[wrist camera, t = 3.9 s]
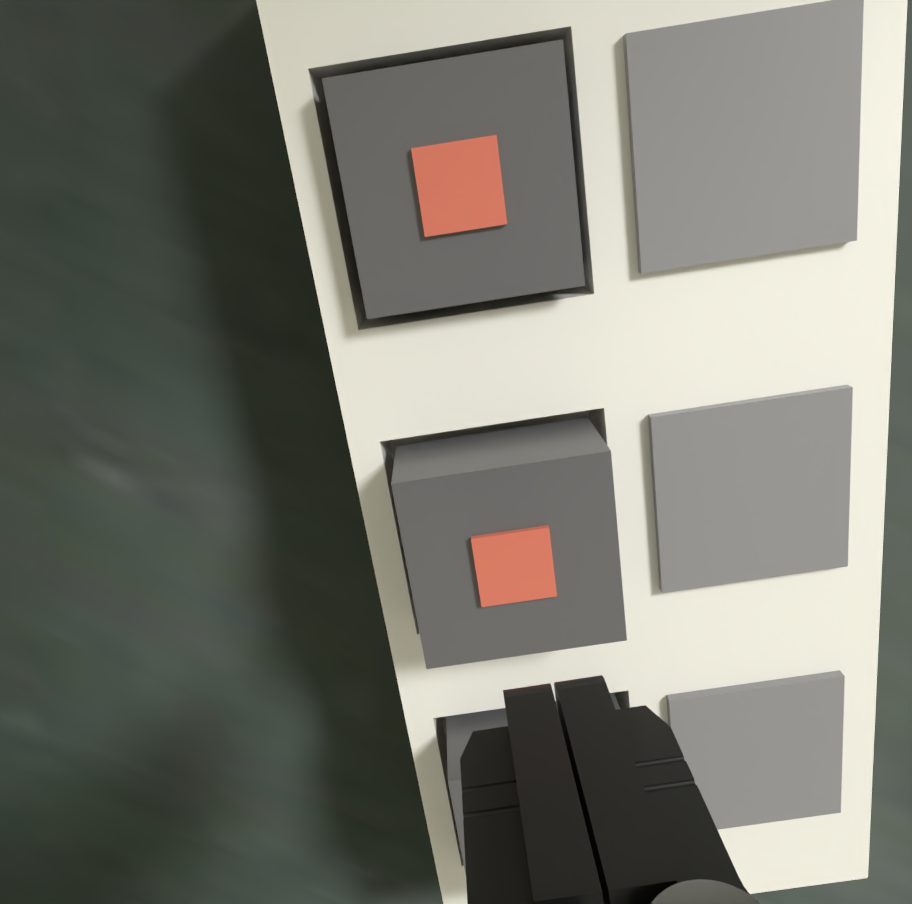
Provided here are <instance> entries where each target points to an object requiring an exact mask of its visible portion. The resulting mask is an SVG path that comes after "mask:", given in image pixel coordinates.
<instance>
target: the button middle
mask: <svg viewBox="0 0 912 904" xmlns="http://www.w3.org/2000/svg"><path fill="white" fill-rule="evenodd" d="M391 486H392V491H393V497H394V502H395V507H396V512H397V518H398V523H399V528H400V533H401V539H402V544H403V549H404V554H405V560H406V565H407V570H408V575H409V581H410V586H411V591H412V596H413V602H414V607H415V612H416V617H417V622H418V628H419V633H420V638H421V643H422V649H423V654H424V659H425V664H426V669H432V668H439V667H445V666H452V665H459V664H466V663H473V662H480V661H487V660H494V659H501V658H508V657H515V656H522V655H529V654H536V653H543V652H550V651H557V650H564V649H571V648H578V647H585V646H592V645H599V644H606V643H612V642H619V641H626V640H627V634H626V623H625V611H624V599H623V587H622V575H621V563H620V552H619V540H618V528H617V516H616V504H615V493H614V481H613V469H612V457H611V450H610V449H609V447H608V446H607V444H606V443H605V441H604V440H603V439H602V437H601V436H600V434H599V433H598V431H597V430H596V428H595V427H594V425H593V424H592V422H591V421H590V419H589V418H588V417H580V418H573V419H567V420H560V421H554V422H547V423H540V424H534V425H527V426H520V427H514V428H507V429H500V430H494V431H487V432H480V433H474V434H467V435H460V436H454V437H447V438H440V439H434V440H427V441H420V442H414V443H407V444H401V445H397V446H396V453H395V459H394V466H393V473H392V480H391Z"/></svg>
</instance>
